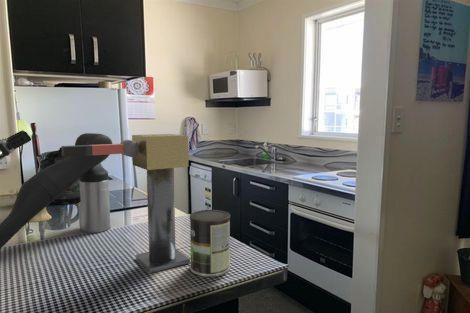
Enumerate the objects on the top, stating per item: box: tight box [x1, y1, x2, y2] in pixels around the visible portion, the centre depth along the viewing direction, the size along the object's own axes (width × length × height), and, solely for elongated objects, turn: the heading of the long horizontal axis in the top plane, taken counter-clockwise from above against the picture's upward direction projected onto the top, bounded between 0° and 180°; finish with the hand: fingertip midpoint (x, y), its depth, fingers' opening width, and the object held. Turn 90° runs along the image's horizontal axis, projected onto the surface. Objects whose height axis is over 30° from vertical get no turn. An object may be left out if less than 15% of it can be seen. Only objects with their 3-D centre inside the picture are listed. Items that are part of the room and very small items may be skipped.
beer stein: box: [39, 147, 81, 205], centre depth 162 cm, size 16×19×25 cm
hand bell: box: [28, 206, 52, 223], centre depth 133 cm, size 8×8×16 cm
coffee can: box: [189, 209, 231, 278], centre depth 90 cm, size 10×10×14 cm
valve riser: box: [131, 133, 191, 274], centre depth 93 cm, size 11×11×34 cm
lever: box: [60, 139, 140, 158], centre depth 84 cm, size 17×4×4 cm, turn 123°
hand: (27, 134), depth 75 cm, fingers open, 8 cm apart
